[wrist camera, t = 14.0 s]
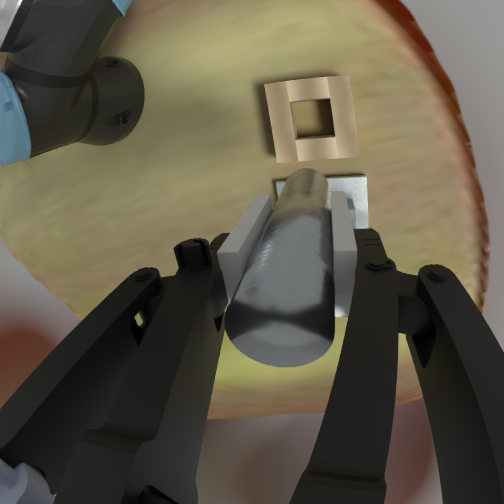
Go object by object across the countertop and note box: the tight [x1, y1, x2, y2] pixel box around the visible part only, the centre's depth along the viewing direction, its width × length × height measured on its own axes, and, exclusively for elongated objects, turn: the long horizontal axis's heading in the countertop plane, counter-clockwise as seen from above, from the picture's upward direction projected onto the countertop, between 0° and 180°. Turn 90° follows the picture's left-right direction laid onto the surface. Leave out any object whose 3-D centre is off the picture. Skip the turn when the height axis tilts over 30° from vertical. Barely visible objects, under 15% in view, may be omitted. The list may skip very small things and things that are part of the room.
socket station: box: [276, 175, 368, 229], centre depth 40 cm, size 12×22×5 cm, turn 10°
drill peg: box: [224, 168, 335, 367], centre depth 14 cm, size 3×3×14 cm
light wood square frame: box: [264, 76, 359, 163], centre depth 33 cm, size 10×10×4 cm
